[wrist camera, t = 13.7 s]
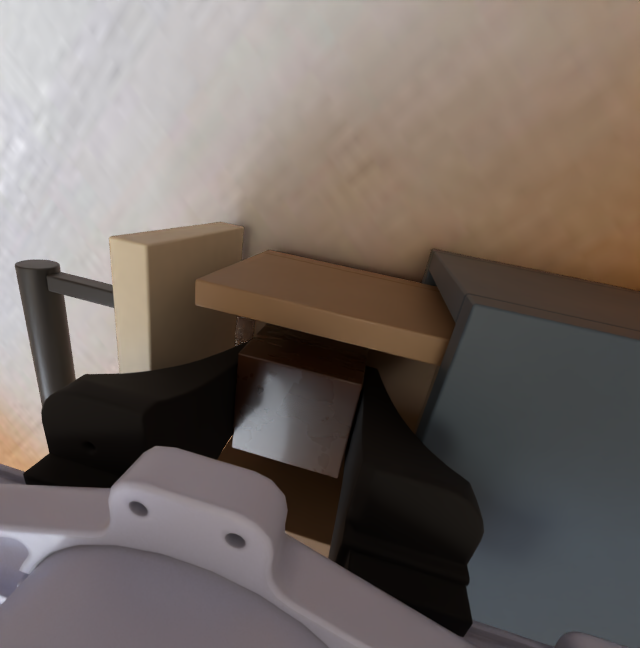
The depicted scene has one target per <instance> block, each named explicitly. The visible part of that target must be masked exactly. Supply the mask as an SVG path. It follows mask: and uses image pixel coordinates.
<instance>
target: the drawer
mask: <svg viewBox="0 0 640 648" xmlns="http://www.w3.org/2000/svg"><path fill="white" fill-rule="evenodd" d="M243 233H244V227H242V226H238V225H233V224H228V223H224V222H216V223H208V224H201V225H193V226H186V227H178V228H170V229H163V230H155V231H147V232H140V233H132V234H125V235H117V236H111V237H109V245H110V258H111V271H112V284H113V285H110V284H106V283H103V282H99V281H95V280H91V279H87V278H83V277H79V276H75V275H71V274H67V273H63V272H61V271H60V265H59V263H57V262H54V261H50V260H25V261H20V262H17V263H16V264H15V269H16V274H17V279H18V284H19V290H20V295H21V300H22V305H23V310H24V315H25V320H26V326H27V331H28V336H29V341H30V346H31V351H32V356H33V361H34V367H35V372H36V377H37V382H38V387H39V392H40V397H41V403H42V407H43V403H44V402H45V400H46V399H47V398H48V397H49V396H50V395H52V394H53V393H55V392H57V391H58V390H60V389H62V388H63V387H65V386H67V385H68V384H70V383H72V382H73V381H75V380H76V378H75V371H74V364H73V357H72V350H71V343H70V335H69V328H68V321H67V314H66V307H65V300H64V295H67V296H70V297H74V298H78V299H82V300H86V301H90V302H93V303H97V304H101V305H105V306H109V307H113V308H114V309H115V322H116V335H117V348H118V361H119V373H133V372H143V371H151V370H157V369H163V368H168V367H174V366H179V365H183V364H187V363H191V362H194V361H198V360H201V359H204V358H207V357H210V356H212V355H215V354H218V353H221V352H223V351H226V350H228V349H231V348H233V347H234V346H235V334H236V321H237V316H241V317H245V318H249V319H253V320H255V324H254V334H253V337H254V336H255V335H256V334H257V333H258V332H259V331H260V330H261V329H262V328H263V327H264V326H265V324H266V323H269V324H273V325H277V326H281V327H285V328H289V329H293V330H297V331H301V332H305V333H309V334H313V335H317V336H321V337H325V338H329V339H333V340H337V341H341V342H345V343H349V344H353V345H357V346H361V347H365V348H368V354H367V361H366V366H369V367H373V368H377V369H378V371H379V374H380V376H381V379H382V382H383V384H384V386H385V389H386V391H387V393H388V395H389V397H390V399H391V401H392V402H393V404H394V406H395V408H396V409H397V411H398V413H399V414H400V416H401V417H402V419H403V420H404V421H405V423H406V424H407V425H408V427H409V428H410V429H411V430H412V432H413V433H414V434H416V431H417V428H418V426H419V423H420V420H421V418H422V415H423V412H424V409H425V407H426V404H427V401H428V398H429V396H430V393H431V390H432V387H433V385H434V382H435V379H436V376H437V374H438V371H439V368H440V366H441V363H442V360H443V357H444V355H445V352H446V349H447V346H448V344H449V341H450V338H451V335H452V333H453V330H454V327H455V325H456V323H455V321H454V319H453V317H452V315H451V313H450V311H449V309H448V307H447V305H446V303H445V301H444V299H443V297H442V295H441V293H440V291H439V289H438V287H436V286H432V285H427V284H422V283H418V282H413V281H409V280H404V279H400V278H395V277H391V276H386V275H381V274H377V273H372V272H368V271H363V270H359V269H354V268H350V267H345V266H340V265H336V264H331V263H327V262H322V261H318V260H313V259H309V258H304V257H299V256H295V255H290V254H286V253H281V252H277V251H272V250H267V251H264V252H262V253H260V254H257V255H255V256H252V257H250V258H247V259H245V260H242V261H241V258H242V245H243ZM217 460H219V461H222V462H225V463H229V464H232V465H235V466H239V467H242V468H245V469H249V470H252V471H255V472H257V473H259V474H261V475H263V476H265V477H267V478H269V479H271V480H272V481H273V482H274V483H275V484H276V485H277V487H278V488H279V489H280V490H281V491H282V493H283V494H284V495H285V498H286V504H287V509H288V512H287V518H286V523H285V533H286V534H288V535H289V536H291V537H293V538H294V539H296V540H298V541H299V542H301V543H303V544H305V545H306V546H308V547H310V548H311V549H313V550H315V551H316V552H318V553H320V554H321V555H323V556H325V557H326V558H328V556H329V551H330V546H331V541H332V536H333V530H334V525H335V520H336V515H337V509H338V504H339V499H340V493H341V488H342V481H343V474H344V462H345V455H344V459H343V462H342V466H341V470H340V474H339V477H338V478H334V477H330V476H327V475H324V474H320V473H317V472H313V471H310V470H307V469H303V468H300V467H297V466H293V465H290V464H286V463H283V462H280V461H276V460H273V459H269V458H266V457H263V456H259V455H256V454H252V453H249V452H246V451H242V450H239V449H235V448H232V438H231V439H230V441H229V442H228V443H227V445H226V446H225V448H224V449H223V451H222V452H221V454H220V456H219V457H218V459H217Z"/></svg>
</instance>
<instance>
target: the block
mask: <svg viewBox="0 0 640 648" xmlns="http://www.w3.org/2000/svg"><path fill="white" fill-rule="evenodd" d="M367 354H368V348H365V347H361V346H357V345H353V344H349V343H345V342H341V341H337V340H333V339H329V338H325V337H321V336H317V335H313V334H309V333H305V332H301V331H297V330H293V329H289V328H285V327H281V326H277V325H273V324H269V323H266V324H265V326H264V327H263V328H262V329H261V330H260V331H259V332H258V333H257V334H256V335H255V336H254V337H253V338H252V339H251V340H250V342H249V343H248V344H247V345H246V346H245V347H244V348H243V349H242V350H241V351H240V352H239V354H238V366H237V380H236V394H235V408H234V421H233V435H232V448H235V449H239V450H242V451H246V452H249V453H252V454H256V455H259V456H263V457H266V458H269V459H273V460H276V461H280V462H283V463H286V464H290V465H293V466H297V467H300V468H303V469H307V470H310V471H313V472H317V473H320V474H324V475H327V476H330V477H334V478H338V477H339V474H340V470H341V466H342V462H343V459H344V455H345V451H346V447H347V443H348V440H349V436H350V432H351V428H352V424H353V421H354V417H355V413H356V409H357V406H358V402H359V398H360V394H361V390H362V387H363V381H364V374H365V367H366V361H367Z"/></svg>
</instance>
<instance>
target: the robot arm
mask: <svg viewBox="0 0 640 648" xmlns="http://www.w3.org/2000/svg"><path fill="white" fill-rule="evenodd" d="M249 342H250V341H247V342H245V343H243V344H240V345H238V346H236V347H233V348H231V349H228V350H226V351H223V352H221V353H218V354H215V355H212V356H210V357H207V358H204V359H201V360H198V361H194V362H191V363H187V364H183V365H179V366H174V367H168V368H163V369H157V370H151V371H143V372H133V373H120V374H85V375H83V376H81V377H80V378H78V379H76V380H75V381H73V382H72V383H70V384H68V385H67V386H65V387H63V388H62V389H60V390H58V391H57V392H55V393H53V394H52V395H50V396H49V397H48V398H47V399H46V400H45V402H44V403H43V407H42V412H41V414H42V423H43V427H44V431H45V436H46V440H47V444H48V448H49V454H48V455H47V456H45V457H44V458H43V459H42V460H40V461H39V462H38V463H36V464H35V465H34V466H32V467H31V468H30V469H29V470H27V471H26V472H24V471H21V470H18V469H15V468H12V467H9V466H6V465H3V464H0V648H629V647H627V646H624V645H621V644H617V643H614V642H611V641H608V640H605V639H602V638H599V637H596V636H593V635H590V634H586V633H583V632H577V631H574V632H567V633H565V634H564V635H562V636H561V637H560V638H559V640H558V641H557V643H556V645H555V647H553V646H550V645H547V644H544V643H541V642H538V641H535V640H532V639H529V638H526V637H523V636H520V635H517V634H514V633H511V632H508V631H505V630H502V629H499V628H496V627H493V626H489V625H486V624H483V623H480V622H477V621H474V620H472V616H471V610H470V605H469V599H468V594H467V589H466V586H468V585H469V583H470V577H469V572H468V567H467V564H468V563H469V561H470V559H471V557H472V556H473V554H474V552H475V551H476V549H477V547H478V545H479V544H480V542H481V539H482V536H483V534H484V524H483V519H482V515H481V511H480V508H479V505H478V502H477V499H476V496H475V494H474V492H473V489H472V487H471V484H470V482H468V481H467V480H466V479H464V478H463V477H462V476H460V475H459V474H458V473H456V472H455V471H454V470H452V469H451V468H450V467H448V466H447V465H446V464H445V463H444V462H443V461H441V460H440V459H439V458H438V457H437V456H436V455H435V454H433V453H432V452H431V451H430V450H429V449H428V448H427V447H426V446H425V445H424V444H423V443H422V442H421V440H420V439H419V438H418V437H417V436H416V435H415V434H414V433H413V432H412V430H411V429H410V428H409V427H408V425H407V424H406V423H405V421H404V420H403V419H402V417H401V416H400V414H399V413H398V411H397V409H396V408H395V406H394V404H393V402H392V401H391V399H390V397H389V395H388V393H387V391H386V389H385V386H384V384H383V382H382V379H381V376H380V374H379V371H378V369H377V368H373V367H369V366H366V367H365V374H364V381H363V387H362V390H361V394H360V398H359V402H358V406H357V409H356V413H355V417H354V421H353V424H352V428H351V432H350V436H349V440H348V443H347V447H346V451H345V462H344V474H343V481H342V488H341V493H340V499H339V504H338V509H337V515H336V520H335V525H334V530H333V536H332V541H331V546H330V551H329V556H328V558H326V557H325V556H323V555H321V554H320V553H318V552H316V551H315V550H313V549H311V548H310V547H308V546H306V545H305V544H303V543H301V542H299V541H298V540H296V539H294V538H293V537H291V536H289V535H288V534H286V533H285V523H286V518H287V512H288V509H287V504H286V498H285V495H284V494H283V493H282V491H281V490H280V489H279V488H278V487H277V485H276V484H275V483H274V482H273V481H272V480H271V479H269V478H267V477H265V476H263V475H261V474H259V473H257V472H255V471H252V470H249V469H245V468H242V467H239V466H235V465H232V464H229V463H225V462H222V461H219V460H217V459H218V457H219V456H220V454H221V452H222V450H223V448H224V447H225V445H226V444H227V442H228V440H229V439H230V438H231V436H232V435H233V421H234V408H235V394H236V380H237V366H238V354H239V352H240V351H241V350H242V349H243V348H244V347H245V346H246V345H247V344H248V343H249Z"/></svg>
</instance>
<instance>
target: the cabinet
mask: <svg viewBox="0 0 640 648" xmlns="http://www.w3.org/2000/svg"><path fill="white" fill-rule="evenodd" d="M422 284H427V285H432V286H436V287H438V289H439V291H440V293H441V295H442V297H443V299H444V301H445V303H446V305H447V307H448V309H449V311H450V313H451V315H452V317H453V319H454V321H455V323H456V325H455V327H454V330H453V333H452V335H451V338H450V341H449V344H448V346H447V349H446V352H445V355H444V357H443V360H442V363H441V366H440V368H439V371H438V374H437V376H436V379H435V382H434V385H433V387H432V390H431V393H430V396H429V398H428V401H427V404H426V407H425V409H424V412H423V415H422V418H421V420H420V423H419V426H418V428H417V431H416V434H415V435H416V436H417V437H418V438H419V439H420V440H421V442H422V443H423V444H424V445H425V446H426V447H427V448H428V449H429V450H430V451H431V452H432V453H433V454H435V455H436V456H437V457H438V458H439V459H440V460H441V461H443V462H444V463H445V464H446V465H447V466H448V467H450V468H451V469H452V470H454V471H455V472H456V473H458V474H459V475H460V476H462V477H463V478H464V479H466V480H467V481H468V482H470V484H471V487H472V489H473V492H474V494H475V496H476V499H477V502H478V505H479V508H480V511H481V515H482V519H483V524H484V534H483V536H482V539H481V542H480V544H479V545H478V547H477V549H476V551H475V552H474V554H473V556H472V557H471V559H470V561H469V563H468V564H467V567H468V572H469V577H470V583H469V585H468V586H466V589H467V594H468V599H469V605H470V610H471V616H472V620H474V621H477V622H480V623H483V624H486V625H489V626H493V627H496V628H499V629H502V630H505V631H508V632H511V633H514V634H517V635H520V636H523V637H526V638H529V639H532V640H535V641H538V642H541V643H544V644H547V645H550V646H553V647H555V645H556V643H557V641H558V640H559V638H560V637H561V636H562V635H564V634H565V633H567V632H574V631H577V632H583V633H586V634H590V635H593V636H596V637H599V638H602V639H605V640H608V641H611V642H614V643H617V644H621V645H624V646H627V647H629V648H640V291H636V290H631V289H626V288H622V287H617V286H612V285H607V284H602V283H597V282H592V281H587V280H583V279H578V278H573V277H568V276H563V275H558V274H553V273H548V272H544V271H539V270H534V269H529V268H524V267H519V266H514V265H509V264H505V263H500V262H495V261H490V260H485V259H480V258H475V257H470V256H466V255H461V254H456V253H451V252H446V251H441V250H436V249H432V250H431V254H430V257H429V260H428V263H427V267H426V270H425V273H424V277H423V280H422Z"/></svg>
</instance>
